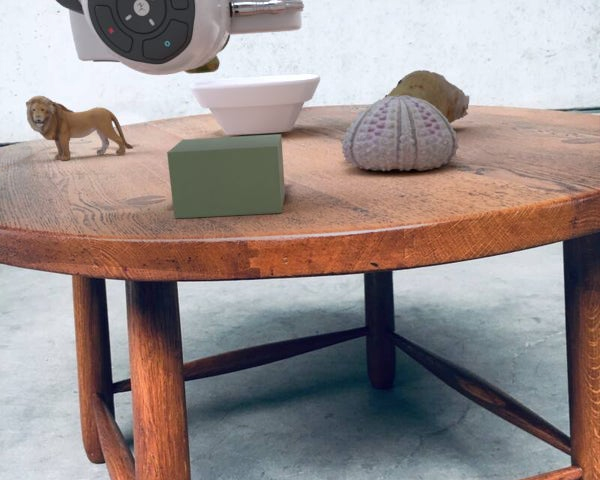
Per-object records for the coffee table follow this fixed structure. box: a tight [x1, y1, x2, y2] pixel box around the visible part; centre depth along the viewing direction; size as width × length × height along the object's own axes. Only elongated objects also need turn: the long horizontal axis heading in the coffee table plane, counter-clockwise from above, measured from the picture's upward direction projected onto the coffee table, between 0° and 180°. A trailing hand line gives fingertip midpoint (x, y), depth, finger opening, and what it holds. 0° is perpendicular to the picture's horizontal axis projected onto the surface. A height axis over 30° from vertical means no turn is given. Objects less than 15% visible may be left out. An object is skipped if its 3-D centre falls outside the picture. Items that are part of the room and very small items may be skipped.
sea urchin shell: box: [340, 95, 460, 172], centre depth 103 cm, size 13×14×8 cm
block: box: [166, 133, 286, 219], centre depth 87 cm, size 10×10×6 cm
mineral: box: [378, 69, 470, 124], centre depth 129 cm, size 26×9×10 cm
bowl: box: [189, 73, 321, 136], centre depth 144 cm, size 21×21×9 cm
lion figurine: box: [25, 95, 134, 161], centre depth 130 cm, size 15×5×9 cm, turn 117°
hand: (196, 16), depth 86 cm, fingers closed on cup, 7 cm apart
